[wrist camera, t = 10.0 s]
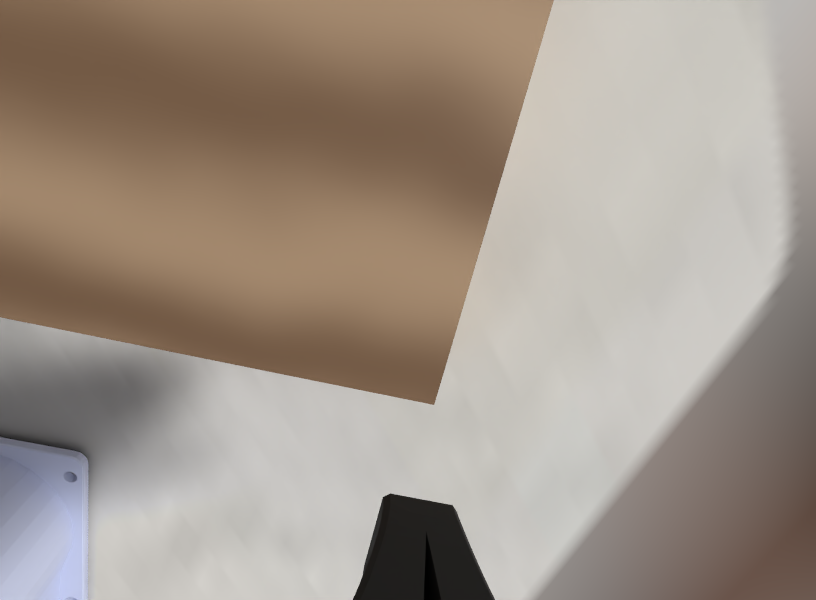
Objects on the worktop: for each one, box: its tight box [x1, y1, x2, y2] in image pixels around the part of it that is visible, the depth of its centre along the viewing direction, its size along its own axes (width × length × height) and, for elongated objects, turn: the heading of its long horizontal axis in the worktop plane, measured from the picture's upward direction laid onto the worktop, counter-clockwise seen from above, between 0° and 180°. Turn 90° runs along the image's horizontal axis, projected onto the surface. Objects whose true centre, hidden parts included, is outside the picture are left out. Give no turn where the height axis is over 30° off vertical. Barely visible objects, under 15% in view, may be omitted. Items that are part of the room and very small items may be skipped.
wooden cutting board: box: [0, 0, 554, 405], centre depth 15 cm, size 14×14×3 cm
